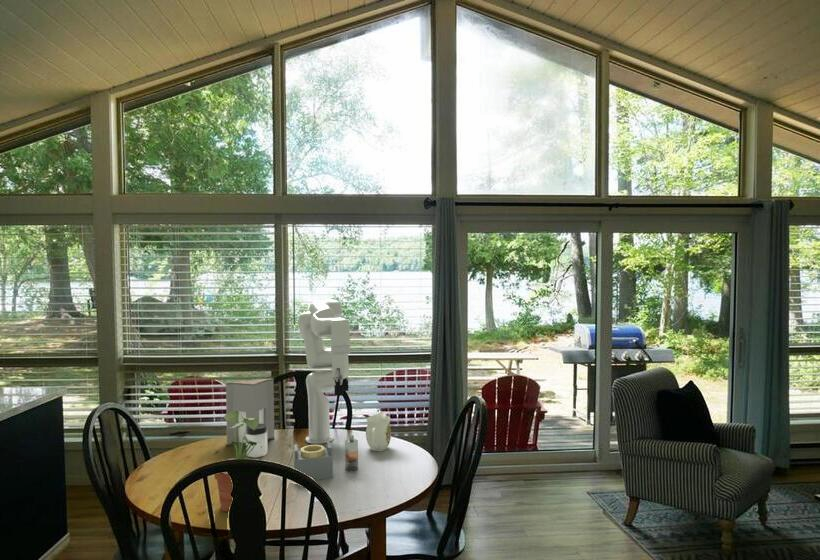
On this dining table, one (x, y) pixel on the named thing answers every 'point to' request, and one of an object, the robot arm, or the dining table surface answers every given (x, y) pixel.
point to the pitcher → (378, 432)
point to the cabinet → (250, 406)
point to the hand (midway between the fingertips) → (341, 393)
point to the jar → (256, 436)
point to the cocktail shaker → (351, 454)
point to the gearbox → (314, 461)
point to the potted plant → (224, 478)
